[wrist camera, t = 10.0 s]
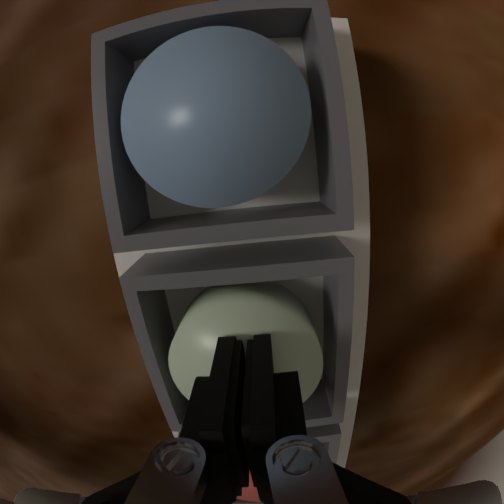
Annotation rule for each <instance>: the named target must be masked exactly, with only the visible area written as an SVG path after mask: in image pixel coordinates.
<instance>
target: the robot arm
mask: <svg viewBox="0 0 504 504" xmlns="http://www.w3.org/2000/svg"><path fill="white" fill-rule="evenodd" d="M249 471H250V474H251V478H252V482H253V486H254V487H257V492H258V496H259V500H260V501H261V502H262V503H264V504H502V499H501V494H500V491H499V489H498V487H497V486H496V485H495V484H494V483H493V482H490V481H487V480H482V481H475V482H471V483H467V484H462V485H457V486H452V487H447V488H441V489H435V490H430V491H421V492H417V494H416V495H410V496H404V495H402V494H400V493H398V492H395V491H393V490H391V489H388V488H386V487H384V486H381V485H379V484H377V483H375V482H372V481H370V480H368V479H366V478H364V477H362V476H359V475H357V474H355V473H353V472H351V471H349V470H347V469H345V468H343V467H341V466H339V465H337V464H335V463H333V462H332V461H331V459H330V456H329V454H328V451H327V449H326V448H325V446H324V445H323V443H321V442H320V441H319V440H317V439H315V438H313V437H310V436H307V430H306V423H305V416H304V409H303V402H302V395H301V389H300V382H299V375H298V371H291V372H280V373H274V366H273V355H272V343H271V334H258V335H254V336H253V339H250V340H247V349H246V359H245V353H244V346H243V341H242V340H237V339H236V336H228V337H218V340H217V344H216V349H215V353H214V358H213V362H212V367H211V372H210V376H197V377H196V378H195V381H194V384H193V388H192V391H191V395H190V399H189V402H188V406H187V410H186V414H185V417H184V421H183V425H182V429H181V432H180V436H179V437H177V438H171V439H168V440H165V441H163V442H161V443H160V444H158V445H157V446H156V447H155V448H154V449H153V451H152V452H151V454H150V455H149V457H148V459H147V461H146V463H145V465H144V467H143V469H142V471H140V472H138V473H136V474H134V475H132V476H130V477H128V478H126V479H124V480H122V481H120V482H118V483H116V484H114V485H111V486H109V487H107V488H105V489H103V490H100V491H98V492H96V493H94V494H92V495H90V496H88V497H83V496H82V495H81V494H74V493H65V492H58V491H51V490H44V489H38V488H25V489H22V490H21V491H20V492H19V493H18V494H17V496H16V498H15V501H14V503H12V502H10V501H7V500H5V499H2V498H0V504H233V503H234V502H235V501H237V496H242V487H249Z"/></svg>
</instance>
